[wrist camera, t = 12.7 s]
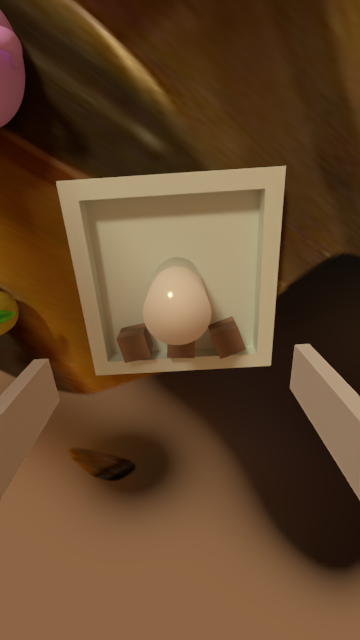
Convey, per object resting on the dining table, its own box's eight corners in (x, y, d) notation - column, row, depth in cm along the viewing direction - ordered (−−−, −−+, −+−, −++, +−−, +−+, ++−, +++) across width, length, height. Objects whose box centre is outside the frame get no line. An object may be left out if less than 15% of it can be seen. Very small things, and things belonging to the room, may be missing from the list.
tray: (101, 364, 41) (95, 375, 38) (66, 183, 32) (55, 181, 29) (264, 354, 40) (271, 365, 38) (276, 169, 31) (285, 165, 29)
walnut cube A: (129, 350, 39) (124, 363, 36) (121, 328, 38) (116, 339, 35) (153, 344, 39) (150, 357, 36) (146, 322, 37) (143, 333, 34)
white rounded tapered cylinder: (156, 304, 37) (146, 347, 25) (151, 258, 34) (139, 283, 23) (201, 301, 36) (212, 343, 25) (199, 255, 34) (210, 278, 23)
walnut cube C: (216, 346, 39) (220, 359, 36) (207, 325, 38) (210, 336, 34) (240, 337, 38) (246, 349, 35) (232, 315, 37) (237, 326, 34)
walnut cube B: (168, 345, 39) (167, 357, 36) (168, 322, 37) (167, 333, 34) (192, 345, 39) (194, 358, 36) (194, 322, 38) (195, 333, 34)
